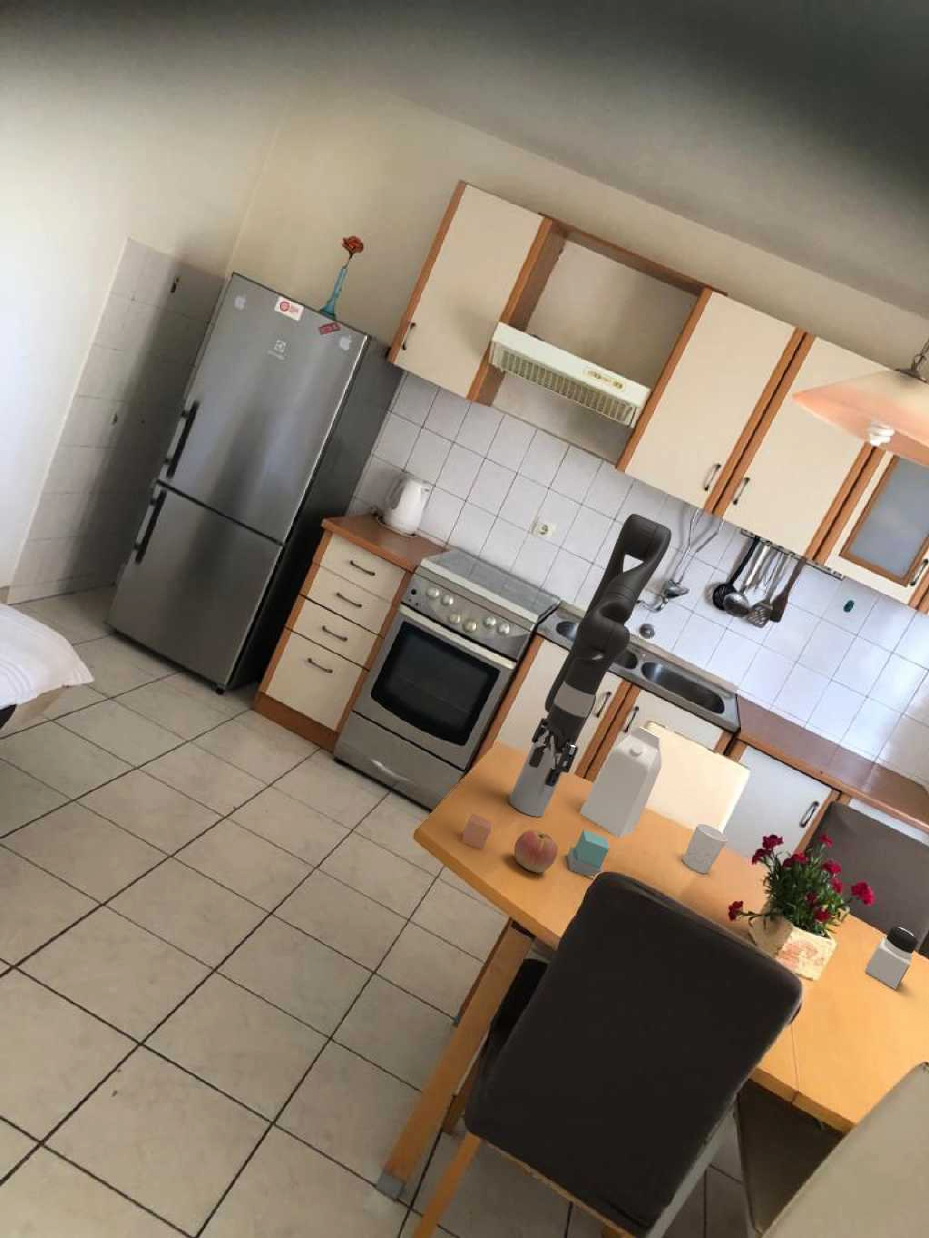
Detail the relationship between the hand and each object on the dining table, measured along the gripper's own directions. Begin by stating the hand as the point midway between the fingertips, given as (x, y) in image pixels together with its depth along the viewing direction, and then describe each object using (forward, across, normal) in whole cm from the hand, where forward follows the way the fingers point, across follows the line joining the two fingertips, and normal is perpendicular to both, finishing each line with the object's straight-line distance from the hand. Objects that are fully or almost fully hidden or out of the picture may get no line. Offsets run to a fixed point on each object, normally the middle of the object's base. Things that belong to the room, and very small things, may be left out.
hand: (540, 775), depth 202 cm
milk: (+18, +27, -41) cm, 52 cm away
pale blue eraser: (+18, -1, -19) cm, 27 cm away
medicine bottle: (+18, -25, -90) cm, 96 cm away
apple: (+19, -5, -3) cm, 20 cm away
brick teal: (+16, -1, -19) cm, 25 cm away
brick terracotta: (+19, +2, +8) cm, 20 cm away
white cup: (+18, +12, -60) cm, 64 cm away
